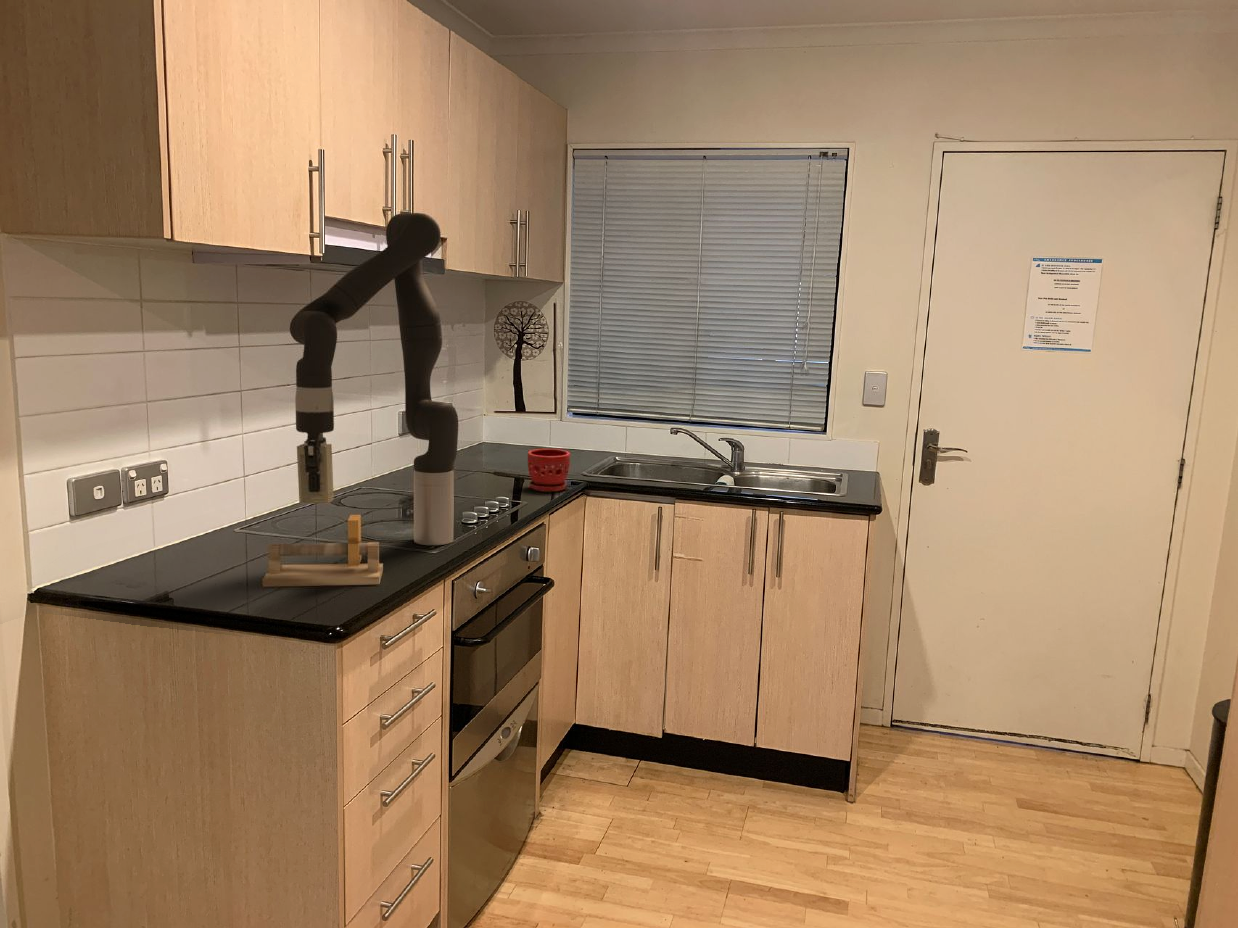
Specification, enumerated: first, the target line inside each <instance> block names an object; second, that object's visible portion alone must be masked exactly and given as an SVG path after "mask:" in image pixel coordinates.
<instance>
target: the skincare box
mask: <svg viewBox="0 0 1238 928" xmlns="http://www.w3.org/2000/svg"><path fill="white" fill-rule="evenodd" d="M332 449H333V447H332V444H331V443H326V444H325V445H324V446H320V447H319V455H318V458H319V457H320V451H322V455H323V461H322V463H320V470H321V473H320V491H319V492H309V485H308V474H307V473H306V471H305V468H306V466H305V451H304V443H301V444H300V445H297V446H296V455H297V457H296V458H297V459H296V460H297V479H298V480H297V481H298V482H297V483H298V497H299V498H298V499H299V500H298V501H299V504H330V503H331V502H332V501H334V476H333V475H334V473H333V470H334V469H333V451H332ZM311 467H316V465H315V463H311Z"/></svg>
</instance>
